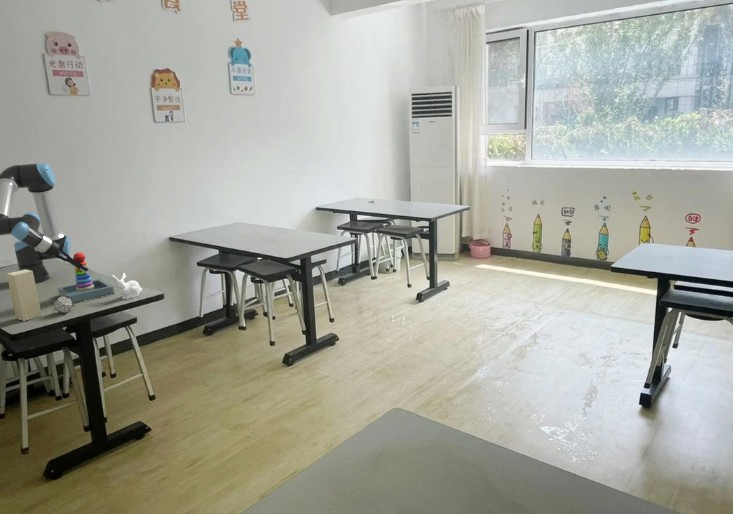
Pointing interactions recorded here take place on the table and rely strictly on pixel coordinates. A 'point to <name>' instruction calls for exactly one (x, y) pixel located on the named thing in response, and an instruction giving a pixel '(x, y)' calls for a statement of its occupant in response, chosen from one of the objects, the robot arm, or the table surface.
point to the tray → (99, 290)
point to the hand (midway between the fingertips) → (90, 272)
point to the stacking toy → (82, 275)
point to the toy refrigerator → (24, 294)
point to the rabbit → (127, 287)
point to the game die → (63, 304)
